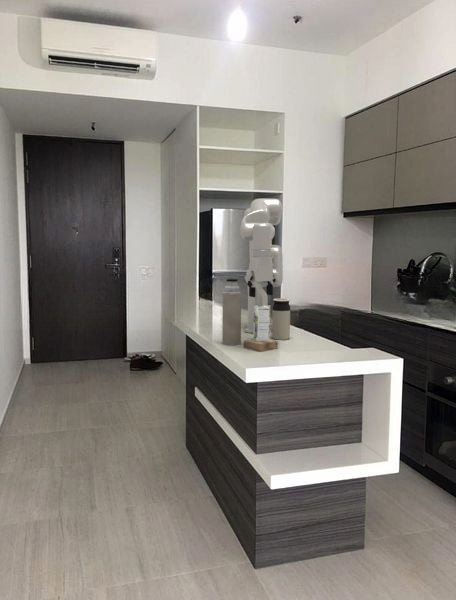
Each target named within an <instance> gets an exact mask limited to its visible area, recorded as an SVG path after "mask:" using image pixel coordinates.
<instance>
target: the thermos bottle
mask: <svg viewBox="0 0 456 600" xmlns="http://www.w3.org/2000/svg"><path fill="white" fill-rule="evenodd" d="M225 281H226V284H225V286H224V289H223V292H222V344H223V345H225V346H239V345H241V344H242V292H241V287H240V286H239V283H238V279H236V278H227V279H225Z"/></svg>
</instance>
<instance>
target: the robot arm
mask: <svg viewBox="0 0 456 600" xmlns="http://www.w3.org/2000/svg"><path fill="white" fill-rule="evenodd" d="M243 213H244V216H243V218H242V219H241V221H240V237H241V239H242V240H243V241H245V242H249V244H248V245H249V265H248V269H247V270H246V275H245V276H244V281H245V284H246V285H247V327H246V328H244V332H245V333H249V334H253V330H254V306H255V305H265V306H268V303H269V302H268V299H269V298H268V296H273V295H274V293H273V292H274V287H276V288H277V287H280V286H281V285H282V284H283V281H284V279H283V278H284V271H283V270H284V269H283V267H284V265H283V261H284V260H283V258H284V256H283V250H282V249H283V248H282V247H281V246H280V245H278V244H272V240H273V238H274V237H275V236H276V229H275V227H274V226H278V225H279V224H280V222H281V221H282V220H281V219H282V216H283V205H282V201H281V200H279V199H278V198H266V197H265V198H255V199H254V200H253V201H252V202H251V203H250V208H249V207H248V208H246V209H245V210H244V212H243ZM264 288H266V291H265V290H264ZM268 307H269V306H268ZM270 327H272V322H269V333H271V329H270Z"/></svg>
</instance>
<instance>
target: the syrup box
mask: <svg viewBox="0 0 456 600" xmlns="http://www.w3.org/2000/svg"><path fill="white" fill-rule="evenodd" d="M269 323H270V307H269V306H265V305H255V306H254V330H253V333H252V334H253V338H252V339H254V341H255V342H268V340H269V333H270V332H269V329H270V327H269Z"/></svg>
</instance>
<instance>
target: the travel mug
mask: <svg viewBox="0 0 456 600" xmlns="http://www.w3.org/2000/svg"><path fill="white" fill-rule="evenodd" d="M272 300H273V305H272V309H271V310H272V315H271V316H272V318H271V319H272V320H271V321H272V326H271V327H272V329H271V333H272V334H271V337H272V339H273V340H275V341H287V340H289V339H290V336H291V324H290V323H291V305H290V304H289V303H290V301H291V299H289V298H273V299H272Z"/></svg>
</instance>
